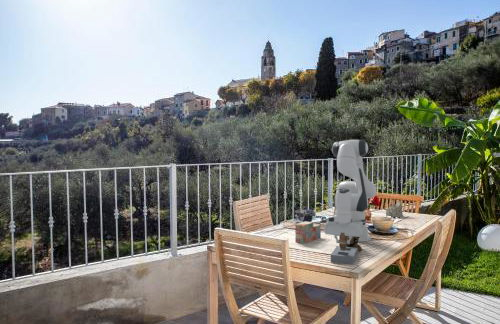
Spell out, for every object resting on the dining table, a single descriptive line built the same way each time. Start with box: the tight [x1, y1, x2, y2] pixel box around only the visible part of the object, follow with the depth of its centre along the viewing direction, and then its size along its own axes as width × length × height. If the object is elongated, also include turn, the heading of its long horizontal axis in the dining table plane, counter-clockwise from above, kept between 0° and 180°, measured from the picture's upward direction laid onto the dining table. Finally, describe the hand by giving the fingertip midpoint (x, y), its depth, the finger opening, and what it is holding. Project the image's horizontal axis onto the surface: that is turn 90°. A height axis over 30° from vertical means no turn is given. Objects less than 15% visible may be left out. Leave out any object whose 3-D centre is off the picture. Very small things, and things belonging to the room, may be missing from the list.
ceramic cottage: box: [385, 200, 404, 218], centre depth 349 cm, size 16×16×15 cm
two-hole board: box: [330, 245, 359, 265], centre depth 223 cm, size 20×12×4 cm, turn 158°
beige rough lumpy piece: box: [347, 236, 363, 253], centre depth 241 cm, size 18×12×17 cm, turn 146°
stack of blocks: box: [294, 220, 322, 245], centre depth 266 cm, size 21×6×12 cm, turn 138°
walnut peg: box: [338, 233, 347, 251], centre depth 218 cm, size 4×4×10 cm
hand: (343, 243), depth 218 cm, fingers closed on walnut peg, 4 cm apart
